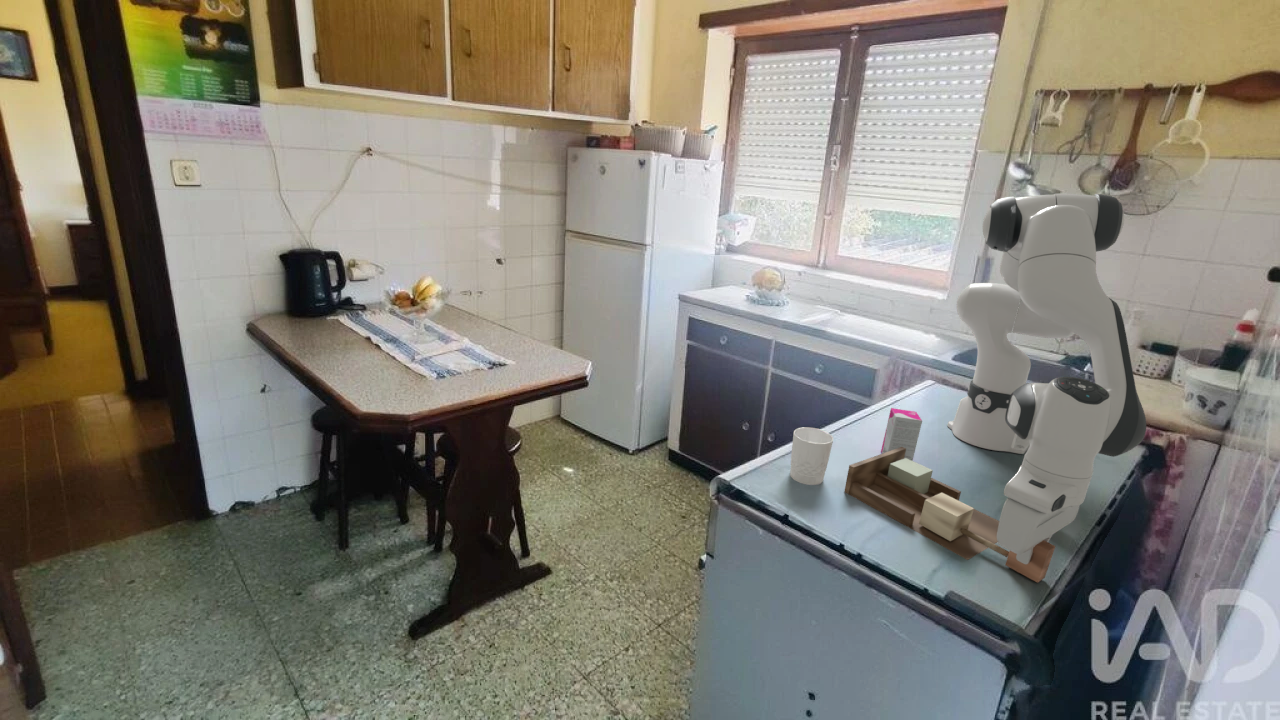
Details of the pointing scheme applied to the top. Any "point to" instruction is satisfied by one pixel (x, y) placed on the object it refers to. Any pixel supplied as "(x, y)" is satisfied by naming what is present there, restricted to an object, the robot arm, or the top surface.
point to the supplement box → (902, 432)
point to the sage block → (911, 474)
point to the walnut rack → (912, 502)
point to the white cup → (810, 455)
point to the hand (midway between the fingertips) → (1028, 557)
